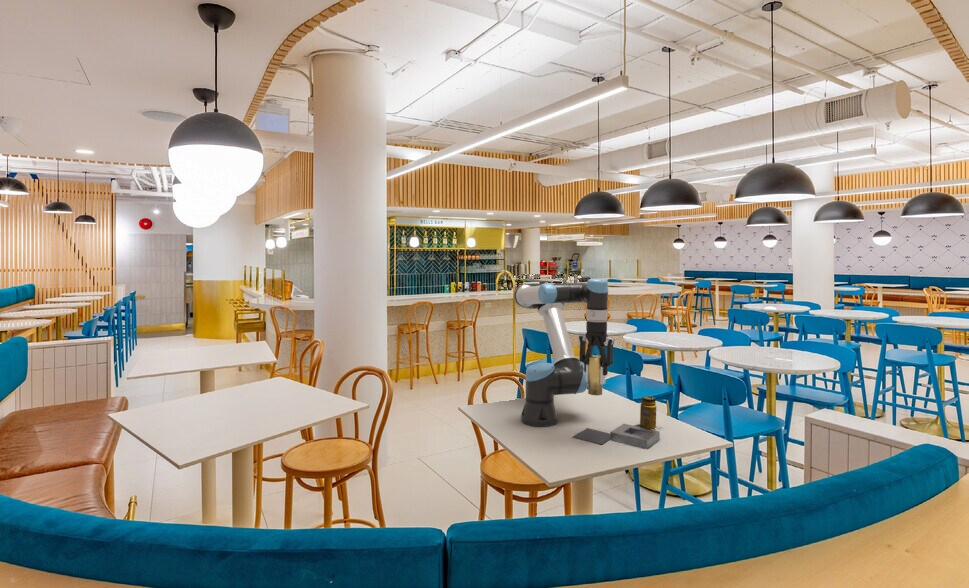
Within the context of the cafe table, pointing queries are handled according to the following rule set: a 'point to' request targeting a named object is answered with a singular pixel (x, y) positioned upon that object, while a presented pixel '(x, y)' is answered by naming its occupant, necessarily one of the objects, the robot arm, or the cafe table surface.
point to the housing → (635, 436)
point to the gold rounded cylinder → (594, 375)
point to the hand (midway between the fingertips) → (595, 382)
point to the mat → (593, 436)
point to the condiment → (648, 413)
